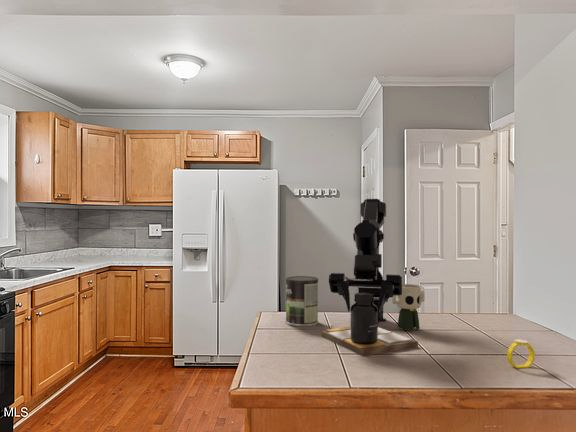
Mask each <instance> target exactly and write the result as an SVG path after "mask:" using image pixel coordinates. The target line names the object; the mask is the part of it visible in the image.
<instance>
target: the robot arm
mask: <svg viewBox="0 0 576 432" xmlns="http://www.w3.org/2000/svg"><path fill="white" fill-rule="evenodd" d="M360 217H361V218H362V221H360V222H358V224H356V226H355V227H354V228H353V233H352V235H353V236H352V239H353V241H354V242H355V247H356V255H354V264H353V265H354V266H353V276H354V277H352V278H350V277H348V276H345V272H331V273H330V274H329V275H328V284H329V289H330V292H331V293H332V294H338V295H339V296H342V297H343V300H344V302H345V306H346V309H347V312H351V296H350V287H357V288H358V290H357V291H358V293H372V294H374V302H373V304H374V305H376V306H377V308H378V323H379V322H386V321H387V318H384V305H385V303H388V301H389V299H390V298H392V297H393V295H402V284H403V277H402V276H401V274H390V273H389V274H386V275H385V276H386V277H385V279H384V276H383V275H382V273H381V272H380V270H379V269H381V268H382V263H383V262H382V259H383V258H382V257H383V256H382V253H380V245H381V243H383V242H384V241H383V240H384V239H385V234H384V232H383V230H381V228H382V226H384V223H385V217H387V204H386V203H385V202H383V201H381V199H379V198H365V199H364V200H363V202H361V203H360Z"/></svg>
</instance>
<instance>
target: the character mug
mask: <svg viewBox="0 0 576 432" xmlns="http://www.w3.org/2000/svg"><path fill="white" fill-rule="evenodd" d="M391 300H392V304H393V305H396V307H398V308H399V309H400V310H399V312H398V320H397V327H398V328H399V329H401V330H402V331H414V329H415V331H418V330H420V319H419V312H418V310H417V309H419V308H421V307H422V303H423V302H425V291H424V290H422V287H421V285H418V284H411V283H402V295H393V297H391Z"/></svg>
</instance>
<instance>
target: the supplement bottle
mask: <svg viewBox="0 0 576 432" xmlns="http://www.w3.org/2000/svg"><path fill="white" fill-rule="evenodd" d="M374 298H375V297H374V294H372V293H359V292H356V293H354V302H355V303H353V304H352V305H350V326H351V341H352V342H354V343H358V344H374V343H376V342H377V340H378V327H379V325H378V323H379V322H378V308H377V306H376V305H374V304H373V302H374Z"/></svg>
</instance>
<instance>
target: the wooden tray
mask: <svg viewBox="0 0 576 432" xmlns="http://www.w3.org/2000/svg"><path fill="white" fill-rule="evenodd" d="M320 332H321V334H320V335H321V337H322V338H324V339H326V340H328V341H330V342H333V343H334V344H337V345H339V346H340V347H341V346H342V347H343V348H345V349H348V350H349V351H352V352H354V353H356V354H358V355H360V356H362V357H364V356H372V355H376V354H384V353H389V352H395V350H396V351H401V350H402V349H403V350H407V349H413V348H418V347H419V340H417V339H416V340H415V339H412V338H411V337H408V336H405V335H402V334H399V333H397V332H393V331H390V330H388V329H386V328H383V327H380V326H378V340H377V342H376V343H374V344H358V343H354V342H352V341H351V325H350V326H342V327H335V328H333V327H332V328H327V329H326V328H325V329H324V330H321V331H320Z"/></svg>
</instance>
